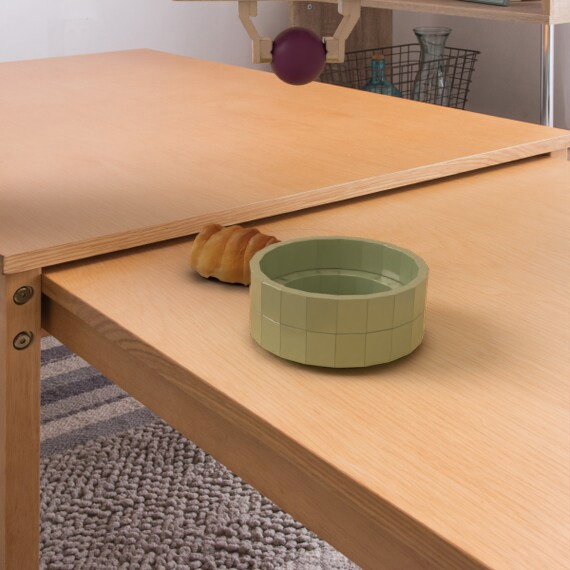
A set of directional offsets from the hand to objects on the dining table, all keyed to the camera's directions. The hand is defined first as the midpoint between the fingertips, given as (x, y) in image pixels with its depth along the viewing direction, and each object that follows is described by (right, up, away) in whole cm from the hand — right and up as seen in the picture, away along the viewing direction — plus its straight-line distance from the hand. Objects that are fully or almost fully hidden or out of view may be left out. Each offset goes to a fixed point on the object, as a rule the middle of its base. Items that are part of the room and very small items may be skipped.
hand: (297, 62), depth 71 cm
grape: (0, 0, 0) cm, 0 cm away
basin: (+3, -21, -4) cm, 21 cm away
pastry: (-4, -16, +7) cm, 18 cm away
